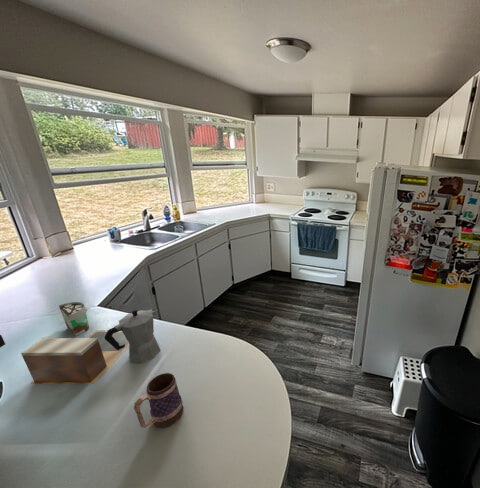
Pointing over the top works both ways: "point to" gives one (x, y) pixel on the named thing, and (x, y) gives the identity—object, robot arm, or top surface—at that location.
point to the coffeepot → (137, 335)
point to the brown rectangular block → (64, 360)
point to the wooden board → (107, 350)
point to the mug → (161, 402)
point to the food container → (75, 317)
